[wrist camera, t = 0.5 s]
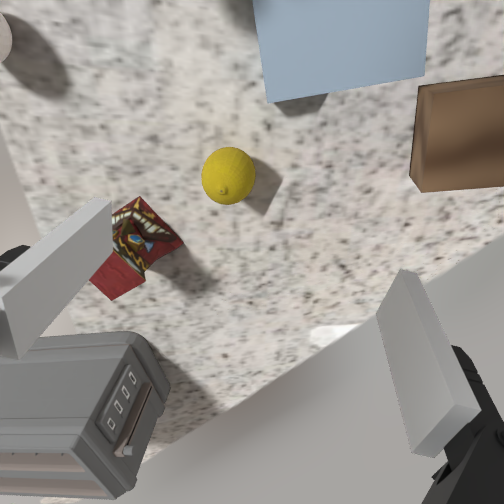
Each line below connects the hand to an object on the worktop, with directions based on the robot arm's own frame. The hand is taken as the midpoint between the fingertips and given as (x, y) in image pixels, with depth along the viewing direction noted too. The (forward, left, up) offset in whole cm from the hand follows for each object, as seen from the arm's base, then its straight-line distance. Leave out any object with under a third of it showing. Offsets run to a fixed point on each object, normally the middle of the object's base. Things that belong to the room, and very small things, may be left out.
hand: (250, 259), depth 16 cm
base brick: (-8, +6, -26) cm, 28 cm away
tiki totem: (+11, -21, -26) cm, 34 cm away
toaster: (+37, -41, -26) cm, 61 cm away
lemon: (+3, -6, -25) cm, 26 cm away
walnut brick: (+3, +19, -26) cm, 32 cm away
